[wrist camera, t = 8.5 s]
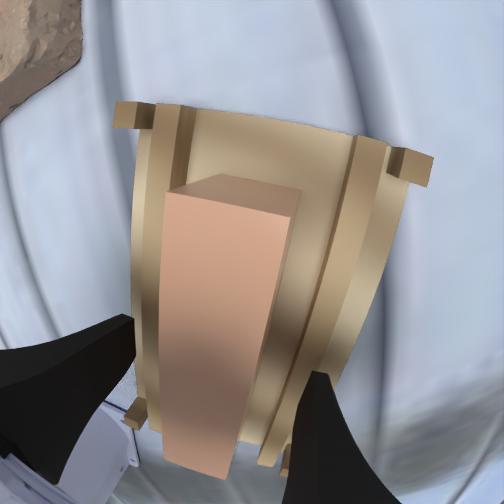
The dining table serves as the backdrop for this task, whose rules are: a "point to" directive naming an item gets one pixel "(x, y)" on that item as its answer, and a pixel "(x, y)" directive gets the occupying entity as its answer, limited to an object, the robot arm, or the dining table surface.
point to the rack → (300, 250)
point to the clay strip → (217, 310)
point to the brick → (36, 46)
